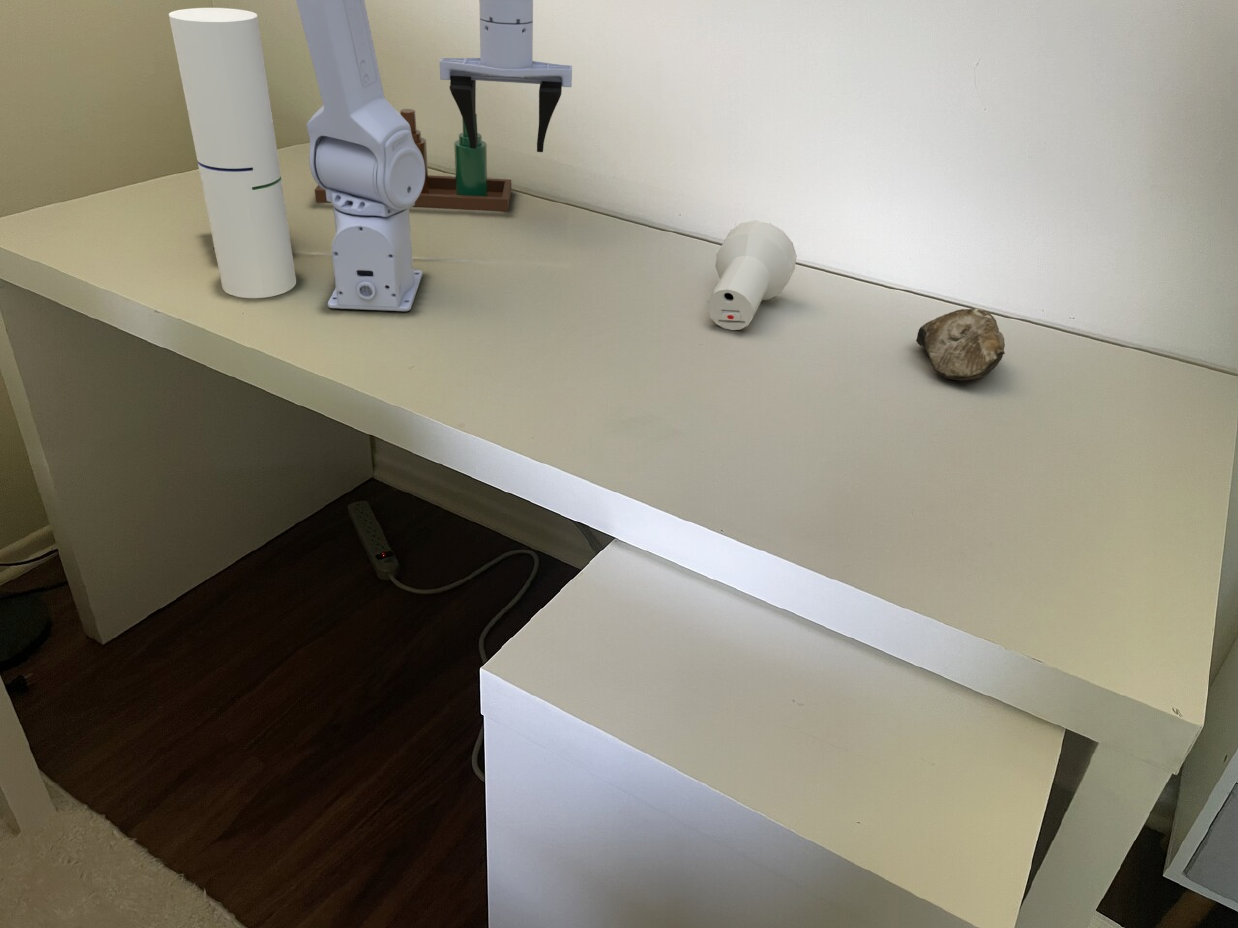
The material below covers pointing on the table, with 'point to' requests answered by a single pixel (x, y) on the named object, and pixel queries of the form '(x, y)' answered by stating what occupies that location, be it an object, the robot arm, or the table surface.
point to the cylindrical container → (235, 148)
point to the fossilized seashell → (963, 344)
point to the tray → (446, 198)
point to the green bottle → (470, 166)
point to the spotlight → (750, 272)
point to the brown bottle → (417, 142)
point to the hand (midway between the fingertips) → (507, 148)
